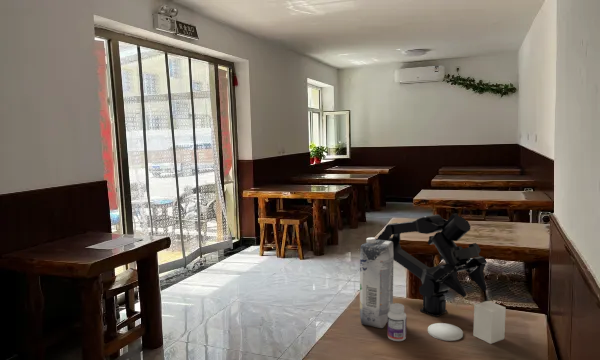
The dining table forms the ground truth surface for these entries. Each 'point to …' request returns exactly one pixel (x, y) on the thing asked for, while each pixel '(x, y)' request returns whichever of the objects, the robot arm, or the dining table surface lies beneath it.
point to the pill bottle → (397, 322)
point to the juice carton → (376, 281)
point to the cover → (489, 321)
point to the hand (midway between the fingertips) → (475, 293)
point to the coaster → (445, 332)
